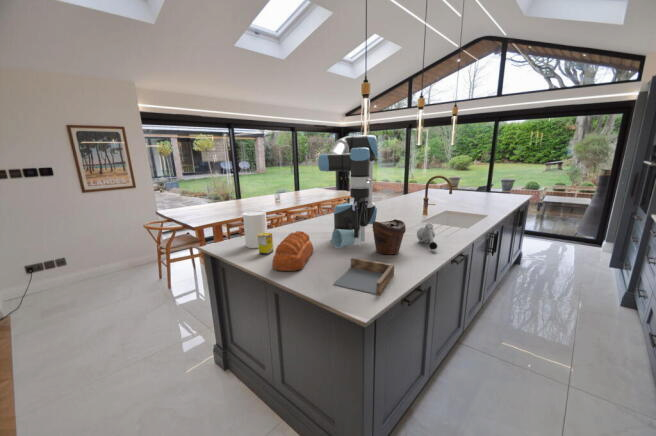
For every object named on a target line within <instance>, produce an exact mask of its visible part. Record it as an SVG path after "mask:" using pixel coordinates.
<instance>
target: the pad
mask: <svg viewBox="0 0 656 436" xmlns="http://www.w3.org/2000/svg"><path fill="white" fill-rule="evenodd" d="M382 275H383V274H382V273H377V272H372V271H366V270H361V269H355V268H351V267H350V268H348V270H346V271H345V272H344V273H343V274H342V275H341V276H340V277H339V278H338V279H336V280H335V282H333V283H332V285H333V286H335V287H336V286H337V287H341V288H346V289H350V290H355V291H359V292H363V293H369V294H372V295H376V290H377V282H378V280H379V279H380V278H381V276H382Z"/></svg>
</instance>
